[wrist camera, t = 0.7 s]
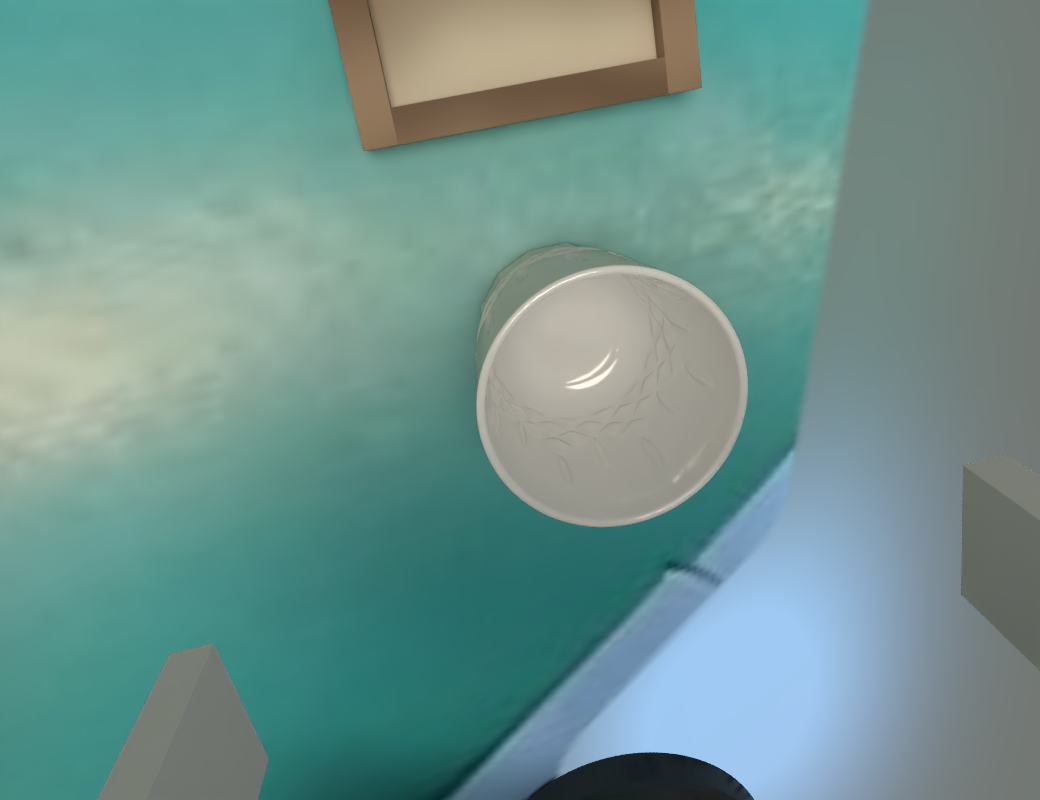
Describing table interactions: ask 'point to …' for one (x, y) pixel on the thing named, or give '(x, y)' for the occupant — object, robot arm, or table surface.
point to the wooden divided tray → (506, 60)
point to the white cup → (604, 385)
